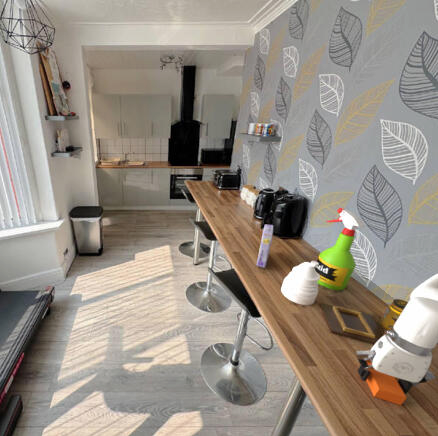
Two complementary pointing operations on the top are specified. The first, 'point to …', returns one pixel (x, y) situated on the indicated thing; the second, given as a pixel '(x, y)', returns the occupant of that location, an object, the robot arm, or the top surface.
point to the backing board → (351, 323)
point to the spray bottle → (339, 254)
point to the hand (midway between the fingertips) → (380, 382)
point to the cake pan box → (265, 246)
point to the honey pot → (302, 284)
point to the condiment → (392, 314)
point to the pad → (385, 387)
